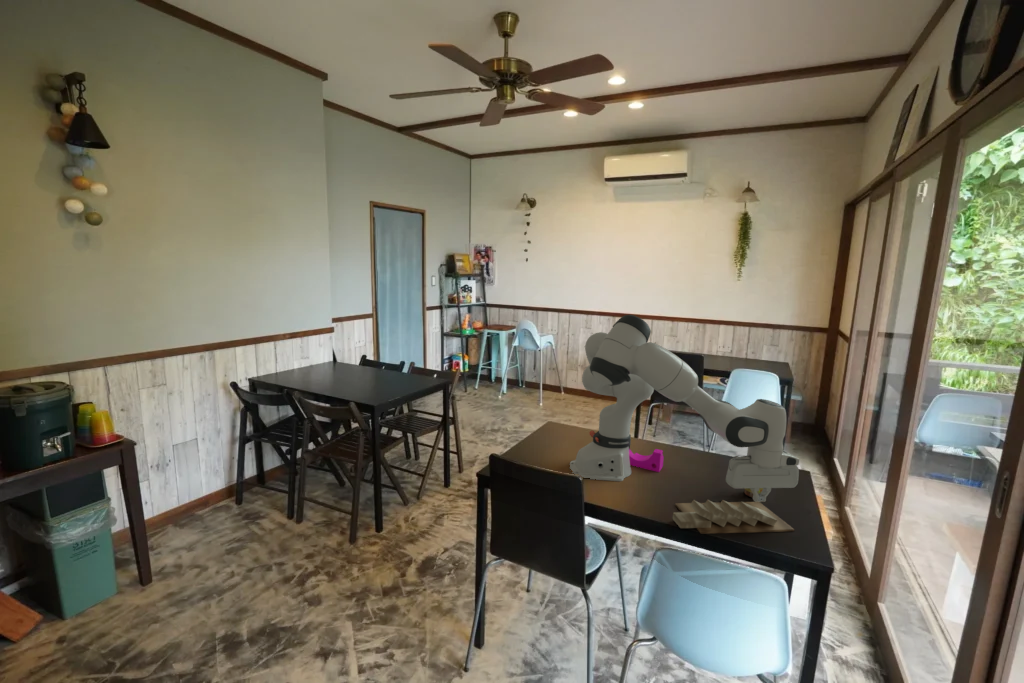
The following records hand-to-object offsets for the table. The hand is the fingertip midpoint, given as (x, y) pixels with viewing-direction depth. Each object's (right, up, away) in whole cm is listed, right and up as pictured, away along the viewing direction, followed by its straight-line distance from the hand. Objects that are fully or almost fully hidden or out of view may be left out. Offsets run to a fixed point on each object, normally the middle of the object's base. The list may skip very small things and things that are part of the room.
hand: (759, 500), depth 133 cm
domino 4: (-2, -5, +1) cm, 6 cm away
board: (-6, -6, +4) cm, 10 cm away
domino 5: (+4, -6, +1) cm, 7 cm away
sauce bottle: (+9, -5, +19) cm, 21 cm away
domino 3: (-7, -5, 0) cm, 9 cm away
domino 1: (-16, -5, -1) cm, 17 cm away
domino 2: (-11, -5, 0) cm, 13 cm away
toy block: (-23, -1, +41) cm, 47 cm away
